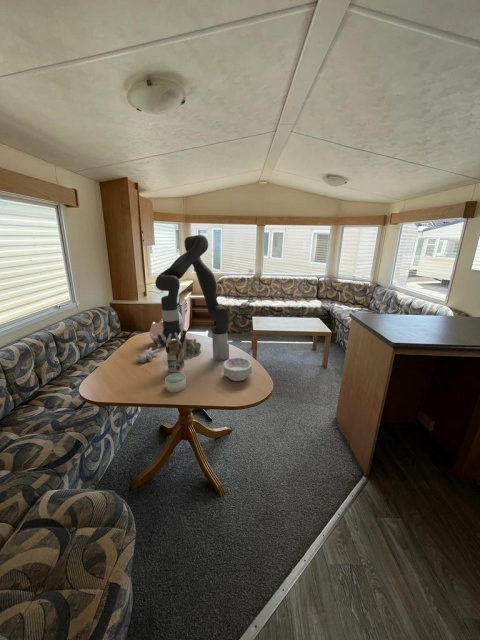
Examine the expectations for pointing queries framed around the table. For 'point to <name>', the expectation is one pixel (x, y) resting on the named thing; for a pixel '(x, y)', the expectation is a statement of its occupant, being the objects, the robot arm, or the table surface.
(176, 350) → the walnut block
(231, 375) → the white purple floral bowl
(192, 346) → the ceramic cottage
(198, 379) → the table surface
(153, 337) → the piggy bank
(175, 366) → the coffee box
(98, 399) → the table surface
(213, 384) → the table surface
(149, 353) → the bunny figurine
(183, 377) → the ceramic bowl
